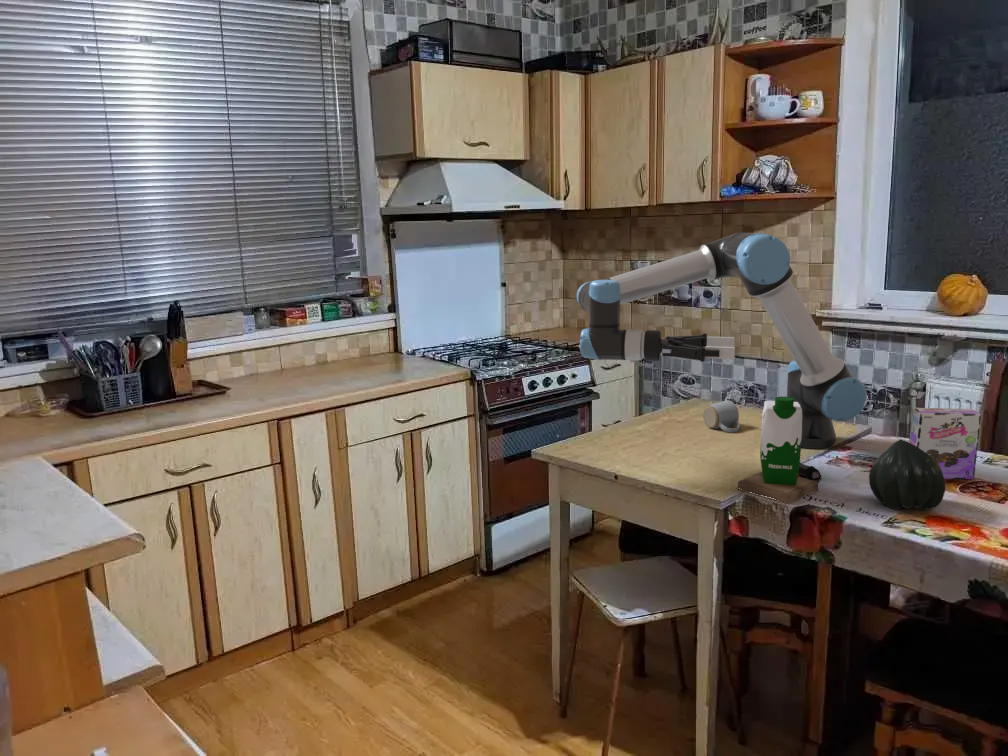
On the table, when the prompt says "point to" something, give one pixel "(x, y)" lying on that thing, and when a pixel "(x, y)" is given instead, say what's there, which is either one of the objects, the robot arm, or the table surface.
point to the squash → (907, 478)
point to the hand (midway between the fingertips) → (734, 347)
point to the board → (778, 488)
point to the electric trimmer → (809, 472)
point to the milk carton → (781, 441)
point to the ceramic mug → (722, 416)
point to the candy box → (948, 438)
